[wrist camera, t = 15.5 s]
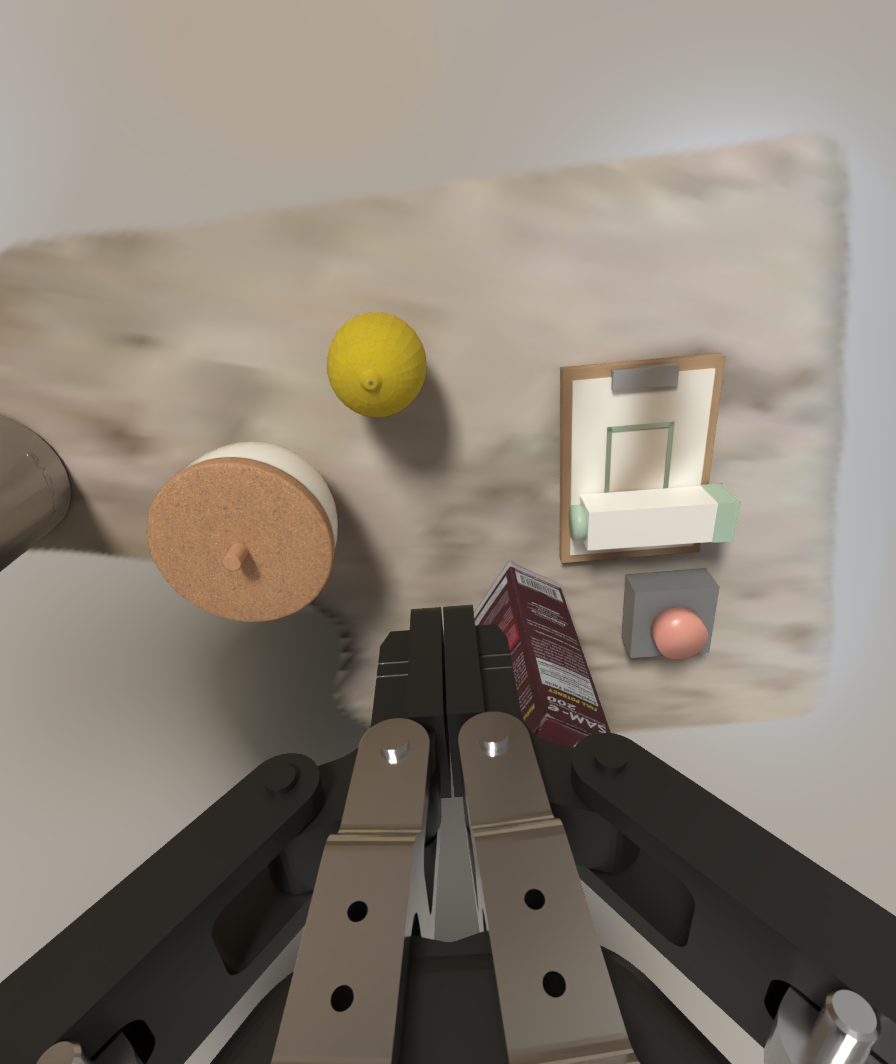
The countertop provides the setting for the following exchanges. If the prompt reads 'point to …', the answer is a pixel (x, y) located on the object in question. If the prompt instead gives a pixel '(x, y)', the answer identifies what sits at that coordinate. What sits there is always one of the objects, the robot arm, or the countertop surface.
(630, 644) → the button housing
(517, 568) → the supplement box
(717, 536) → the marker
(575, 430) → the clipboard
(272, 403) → the countertop surface
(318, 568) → the lidded jar
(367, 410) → the lemon
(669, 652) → the button
